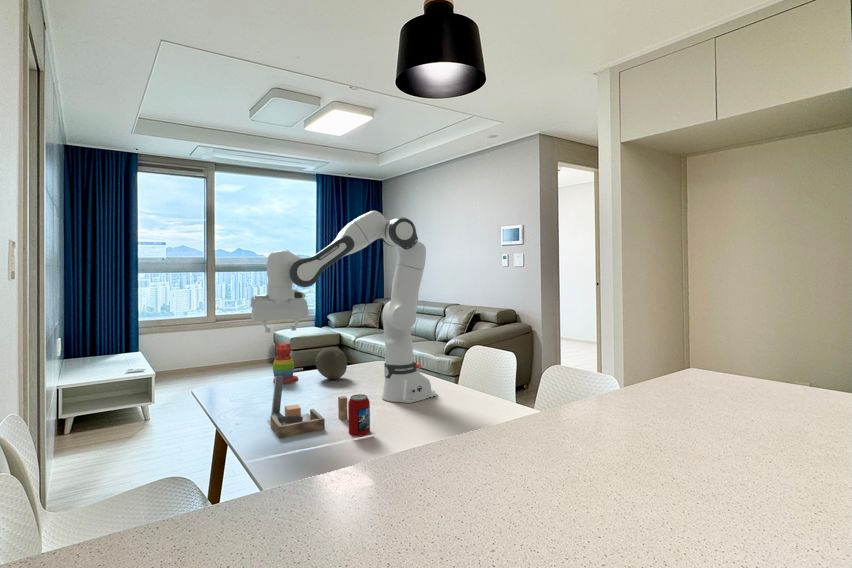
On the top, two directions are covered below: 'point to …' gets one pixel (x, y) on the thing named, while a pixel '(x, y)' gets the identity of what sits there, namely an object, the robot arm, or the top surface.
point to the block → (293, 410)
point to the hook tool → (277, 404)
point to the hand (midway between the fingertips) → (280, 331)
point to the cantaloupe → (331, 363)
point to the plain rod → (342, 408)
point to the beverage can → (359, 415)
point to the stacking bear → (284, 364)
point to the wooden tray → (298, 425)
